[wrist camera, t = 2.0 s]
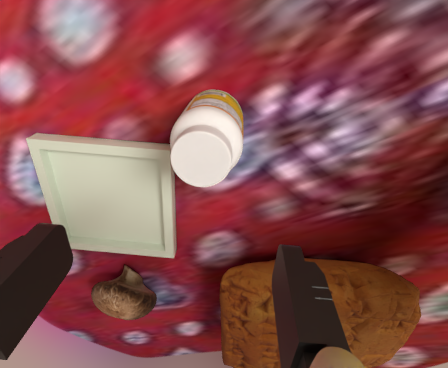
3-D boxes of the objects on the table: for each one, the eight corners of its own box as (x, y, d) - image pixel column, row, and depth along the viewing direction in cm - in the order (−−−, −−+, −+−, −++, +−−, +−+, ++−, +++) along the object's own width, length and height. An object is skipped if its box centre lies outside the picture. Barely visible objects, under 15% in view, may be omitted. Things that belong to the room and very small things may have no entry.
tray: (173, 144, 28) (169, 150, 26) (176, 249, 35) (173, 258, 33) (36, 133, 28) (25, 138, 27) (67, 238, 35) (59, 247, 33)
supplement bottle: (213, 155, 28) (200, 210, 19) (174, 115, 26) (141, 157, 18) (255, 120, 26) (260, 165, 17) (216, 75, 24) (201, 100, 16)
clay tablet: (219, 321, 41) (214, 380, 34) (224, 232, 33) (218, 287, 26) (368, 334, 41) (394, 397, 34) (413, 246, 32) (459, 306, 25)
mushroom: (118, 260, 32) (100, 320, 29) (174, 273, 36) (163, 325, 34) (93, 260, 37) (76, 310, 35) (145, 271, 42) (133, 316, 40)
